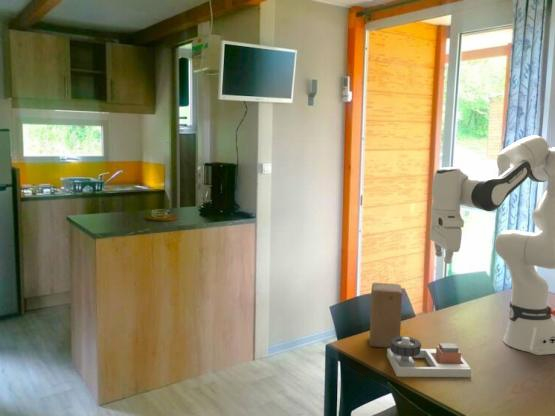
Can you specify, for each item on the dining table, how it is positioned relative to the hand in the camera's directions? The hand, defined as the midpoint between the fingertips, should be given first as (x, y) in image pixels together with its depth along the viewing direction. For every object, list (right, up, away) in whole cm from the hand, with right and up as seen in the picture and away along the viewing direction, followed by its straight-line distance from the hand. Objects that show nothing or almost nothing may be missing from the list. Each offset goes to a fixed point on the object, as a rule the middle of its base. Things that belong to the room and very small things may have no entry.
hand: (442, 259), depth 170 cm
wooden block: (-17, -30, +10) cm, 36 cm away
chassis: (-7, -32, -7) cm, 34 cm away
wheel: (-14, -27, -8) cm, 32 cm away
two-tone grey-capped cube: (-1, -32, -7) cm, 33 cm away
